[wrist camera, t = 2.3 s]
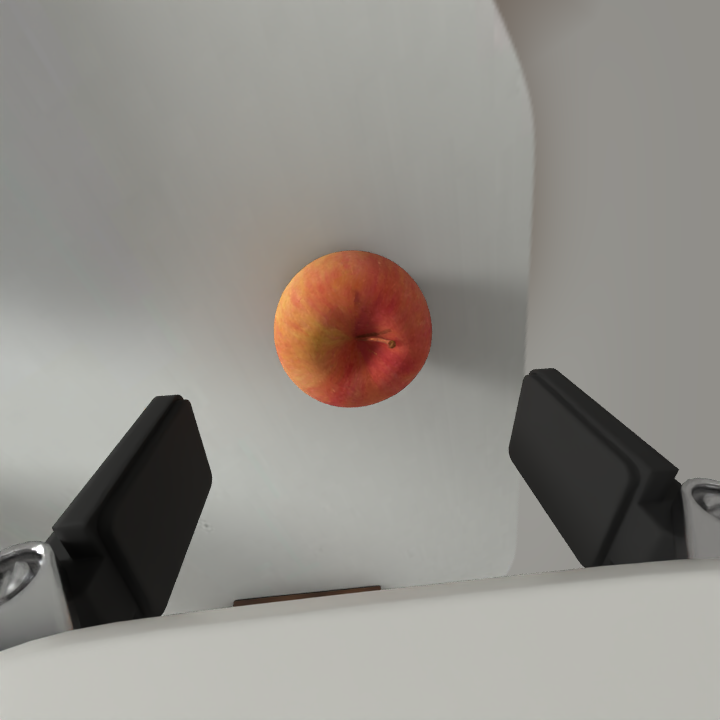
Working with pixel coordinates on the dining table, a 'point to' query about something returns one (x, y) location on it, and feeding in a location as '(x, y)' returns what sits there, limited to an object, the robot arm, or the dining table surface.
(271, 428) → the dining table surface
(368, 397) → the apple
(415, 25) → the dining table surface
